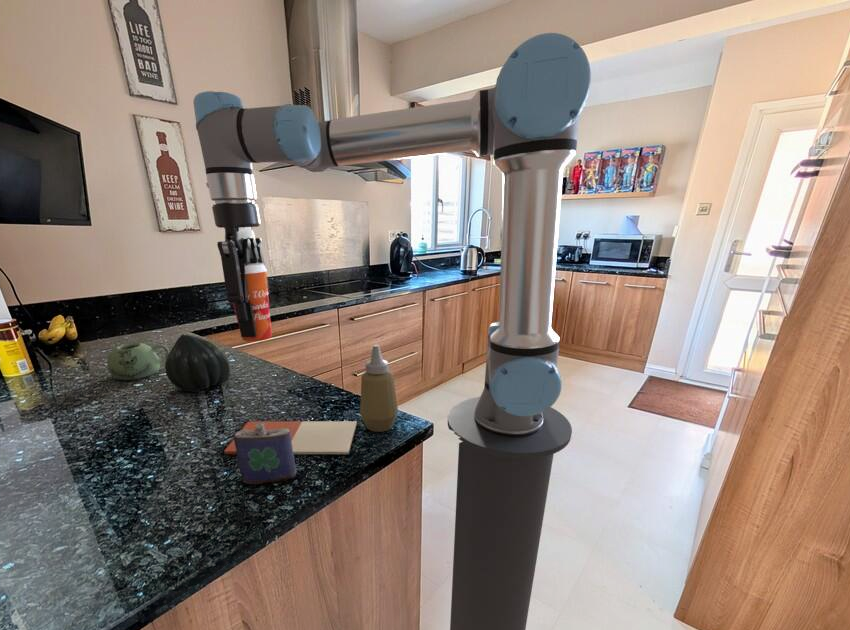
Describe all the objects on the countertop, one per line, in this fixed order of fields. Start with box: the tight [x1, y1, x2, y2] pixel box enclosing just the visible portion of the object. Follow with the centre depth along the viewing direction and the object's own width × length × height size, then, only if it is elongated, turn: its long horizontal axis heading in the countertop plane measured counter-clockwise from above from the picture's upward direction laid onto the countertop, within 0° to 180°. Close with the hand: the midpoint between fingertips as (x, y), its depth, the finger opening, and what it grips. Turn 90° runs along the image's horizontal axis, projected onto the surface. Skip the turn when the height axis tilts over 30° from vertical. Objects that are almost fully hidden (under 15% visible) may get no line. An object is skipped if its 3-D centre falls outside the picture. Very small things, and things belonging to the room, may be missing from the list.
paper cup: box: [232, 263, 273, 342], centre depth 75 cm, size 8×8×14 cm
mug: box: [106, 342, 170, 381], centre depth 114 cm, size 16×13×9 cm
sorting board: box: [223, 420, 358, 455], centre depth 80 cm, size 24×12×1 cm, turn 88°
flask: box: [233, 422, 297, 484], centre depth 66 cm, size 9×3×11 cm, turn 96°
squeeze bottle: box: [359, 344, 399, 433], centre depth 80 cm, size 8×8×18 cm
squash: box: [164, 333, 231, 393], centre depth 104 cm, size 14×15×15 cm
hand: (256, 331), depth 77 cm, fingers closed on paper cup, 6 cm apart
